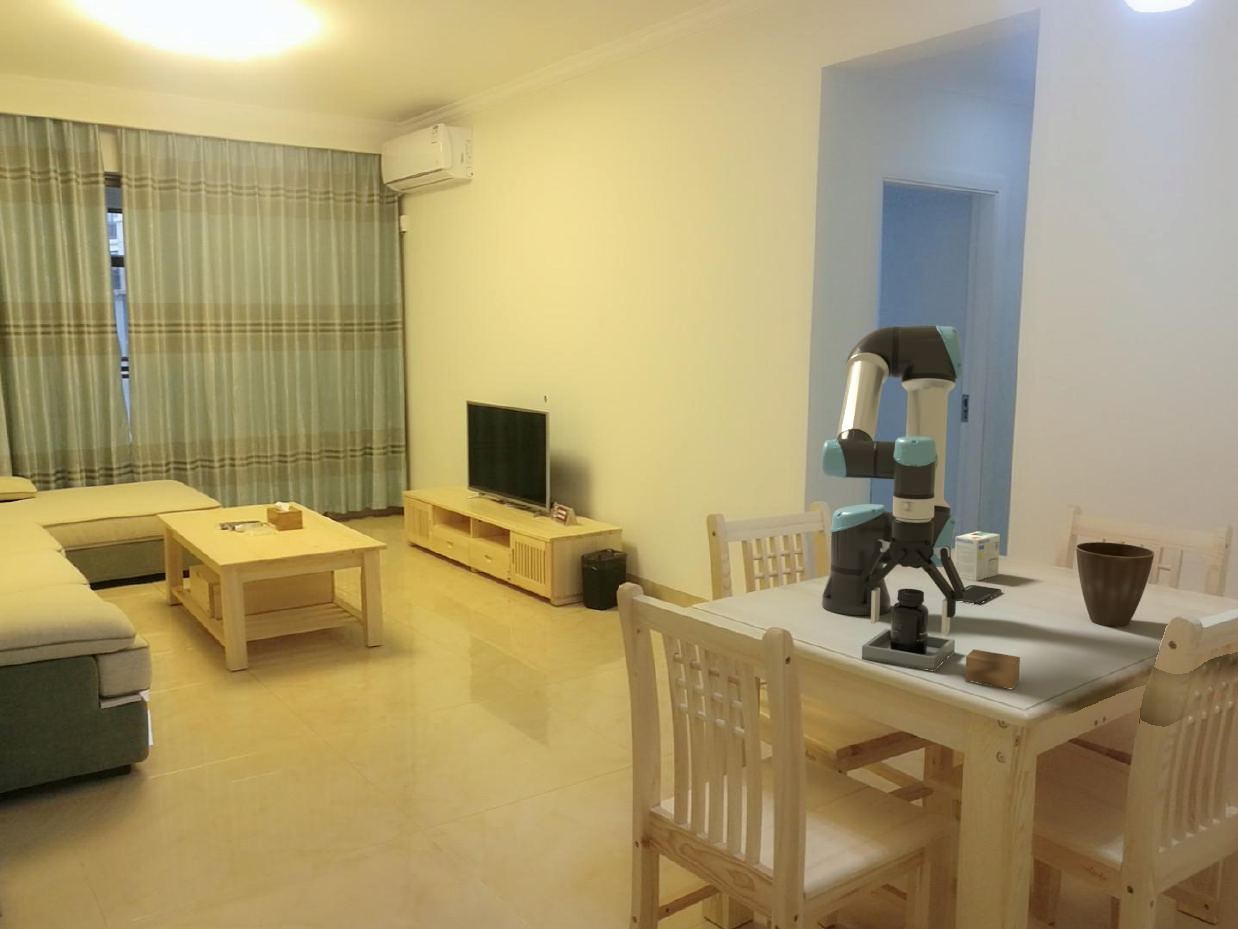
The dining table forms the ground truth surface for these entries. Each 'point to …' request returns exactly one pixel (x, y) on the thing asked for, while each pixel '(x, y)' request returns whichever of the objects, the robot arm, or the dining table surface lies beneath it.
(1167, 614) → the dining table surface
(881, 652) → the tray
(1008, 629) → the dining table surface
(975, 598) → the phone
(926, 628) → the supplement bottle
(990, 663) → the block
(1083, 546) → the plant pot
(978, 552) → the light bulb box
